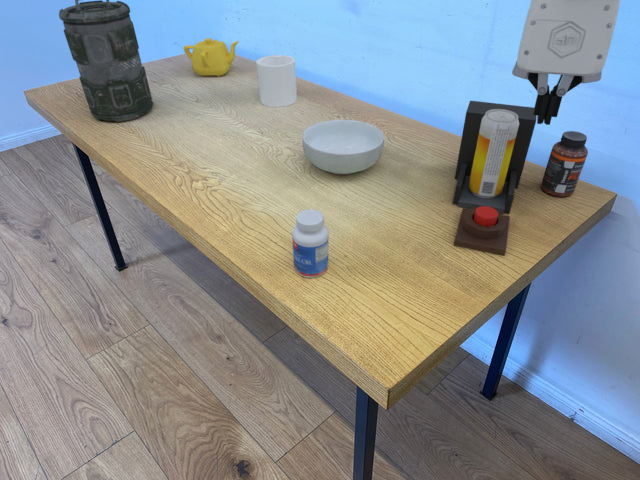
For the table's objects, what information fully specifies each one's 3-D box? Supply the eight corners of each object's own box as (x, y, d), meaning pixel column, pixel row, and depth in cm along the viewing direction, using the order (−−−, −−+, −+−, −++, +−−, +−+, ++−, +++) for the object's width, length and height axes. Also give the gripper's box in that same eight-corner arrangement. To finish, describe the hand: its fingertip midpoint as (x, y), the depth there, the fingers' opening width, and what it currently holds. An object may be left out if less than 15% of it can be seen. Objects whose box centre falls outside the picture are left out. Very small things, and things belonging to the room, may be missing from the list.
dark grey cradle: (519, 174, 95) (536, 107, 87) (515, 216, 84) (535, 144, 75) (458, 165, 99) (470, 100, 90) (446, 204, 87) (458, 134, 79)
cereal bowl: (393, 180, 95) (396, 148, 90) (312, 191, 92) (311, 158, 88) (368, 143, 108) (369, 114, 103) (297, 152, 105) (295, 122, 101)
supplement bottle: (566, 201, 87) (586, 145, 80) (534, 190, 90) (551, 136, 84) (578, 189, 91) (598, 134, 84) (547, 179, 94) (564, 125, 87)
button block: (508, 221, 82) (512, 207, 81) (504, 255, 75) (508, 241, 73) (461, 213, 85) (464, 199, 83) (453, 245, 77) (456, 230, 76)
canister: (104, 129, 117) (64, 5, 100) (83, 110, 127) (45, -5, 110) (163, 112, 125) (136, -5, 108) (140, 96, 135) (112, -14, 118)
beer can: (498, 183, 90) (516, 108, 81) (504, 200, 86) (524, 122, 77) (465, 182, 91) (480, 107, 82) (470, 199, 86) (486, 122, 77)
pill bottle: (286, 268, 74) (282, 217, 68) (310, 252, 77) (308, 201, 71) (312, 284, 71) (310, 232, 65) (335, 266, 74) (336, 215, 68)
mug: (263, 89, 137) (260, 51, 131) (298, 89, 137) (297, 51, 130) (257, 107, 126) (253, 67, 120) (295, 107, 126) (293, 66, 120)
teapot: (225, 63, 158) (220, 30, 151) (243, 73, 149) (239, 39, 143) (186, 72, 151) (180, 38, 145) (204, 82, 143) (198, 47, 137)
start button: (496, 216, 79) (499, 208, 78) (495, 228, 77) (497, 220, 75) (474, 213, 80) (476, 204, 79) (472, 224, 78) (474, 215, 77)
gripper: (512, -26, 54) (485, 125, 65) (661, -24, 50) (605, 137, 61) (515, -34, 60) (489, 106, 71) (649, -34, 55) (600, 116, 66)
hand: (543, 120), depth 66 cm, fingers closed
